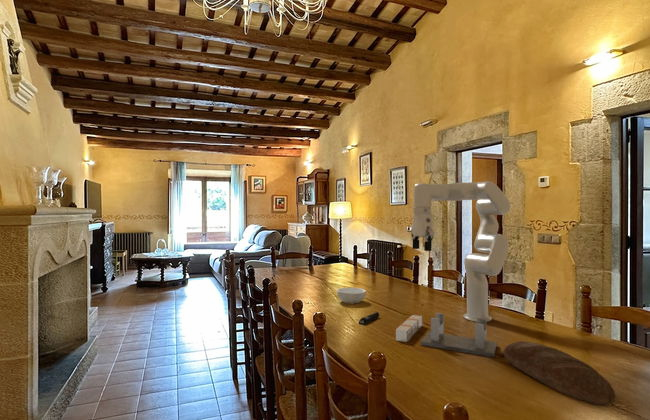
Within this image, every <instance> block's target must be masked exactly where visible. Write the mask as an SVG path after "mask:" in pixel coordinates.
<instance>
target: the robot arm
mask: <svg viewBox="0 0 650 420" xmlns="http://www.w3.org/2000/svg"><path fill="white" fill-rule="evenodd" d="M432 201H433V202H434V201H451V202H453V201H456V202H458V201H476V203H475V210H476V212H477V215H478V216H479V220H480V224H479V228H478V230H477V233H476V236H475V239H474V242H473V243H474V244H473V248H474V249H475V250H476V251H477V252H475V253H474V252H473V253H469V254H467V255H466V256H465V258H464V261H463V263H464V271H465V275H466V313H464V314H463V318H464V319H466V320H468V321H470V322H475V323H477V319H478V318H483V319H486V323H487V322H491V321H492V316H491V315H489V283H488V279H487V276H493V277H494V276H497V275H499V274H500V273H501V271H502V268H503V266H504V264H505V260H506V257H507V255H508V251H509V240H508V238H507V237H506V236H505V235H504V234H501V233H498V232H499V229H500V227H499V222H498V219H497V218H496V216H497V215H498V216H500V215H501V216H502V215H503V216H504V215H506V214H508V213H509V211H511V202H510V200H509V198H508V196H506V194H505V193H504V192H503V191H502V190H501V189H500V187H499V186H498V185H497V184H496V183H494V182H493V181H486V180H485V181H473V182H470V181H469V182H453V183H452V182H451V183H447V184H446V183H445V184H443V183H434V184H429V183H416V184H414V186H413V218H412V229H411V230H410V233H411V234H410V235H411V240H412V250H419V249H420V240H419V239H420V238H424V242H423V243H424V246H423V250H424V251H425V252H431V251H432V245H433V244H432V242H433V239H434V234H435V231H434V225H433V215H432ZM478 252H479V253H478Z"/></svg>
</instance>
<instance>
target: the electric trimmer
mask: <svg viewBox="0 0 650 420" xmlns="http://www.w3.org/2000/svg"><path fill="white" fill-rule="evenodd" d="M379 317H380V313H379V311H377V312H374V313H372V314H369V315H366V316H364V317H361V318H360V319H359V321H358V324H359V325H360V326H367V324H369V322H373V321H376V320H377V319H378V318H379Z"/></svg>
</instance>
